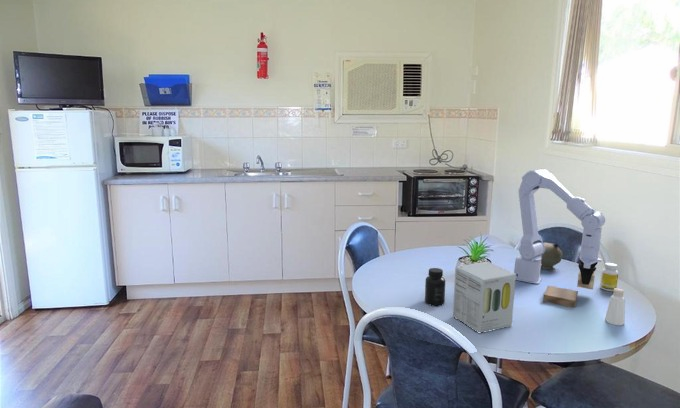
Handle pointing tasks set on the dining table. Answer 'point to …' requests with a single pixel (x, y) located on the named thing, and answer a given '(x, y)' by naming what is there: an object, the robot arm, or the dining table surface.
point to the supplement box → (484, 296)
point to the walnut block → (560, 296)
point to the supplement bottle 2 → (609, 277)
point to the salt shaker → (616, 308)
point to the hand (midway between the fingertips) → (586, 281)
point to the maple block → (585, 284)
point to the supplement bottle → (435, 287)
